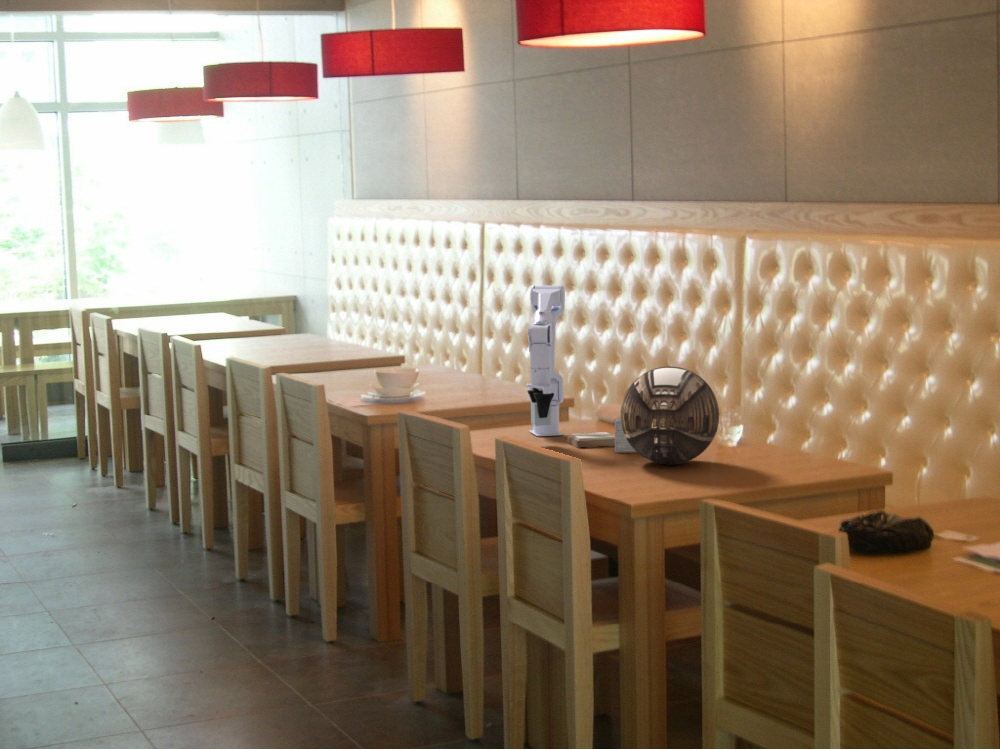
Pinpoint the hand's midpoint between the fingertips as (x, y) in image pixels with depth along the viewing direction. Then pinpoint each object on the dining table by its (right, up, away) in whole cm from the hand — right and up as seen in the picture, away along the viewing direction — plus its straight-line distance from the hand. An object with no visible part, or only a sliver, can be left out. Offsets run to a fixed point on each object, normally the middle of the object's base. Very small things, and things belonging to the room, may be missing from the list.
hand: (540, 416), depth 362 cm
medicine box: (+24, -9, -12) cm, 28 cm away
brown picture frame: (+15, -8, 0) cm, 17 cm away
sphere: (+32, -11, -31) cm, 46 cm away
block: (0, -2, 0) cm, 2 cm away
